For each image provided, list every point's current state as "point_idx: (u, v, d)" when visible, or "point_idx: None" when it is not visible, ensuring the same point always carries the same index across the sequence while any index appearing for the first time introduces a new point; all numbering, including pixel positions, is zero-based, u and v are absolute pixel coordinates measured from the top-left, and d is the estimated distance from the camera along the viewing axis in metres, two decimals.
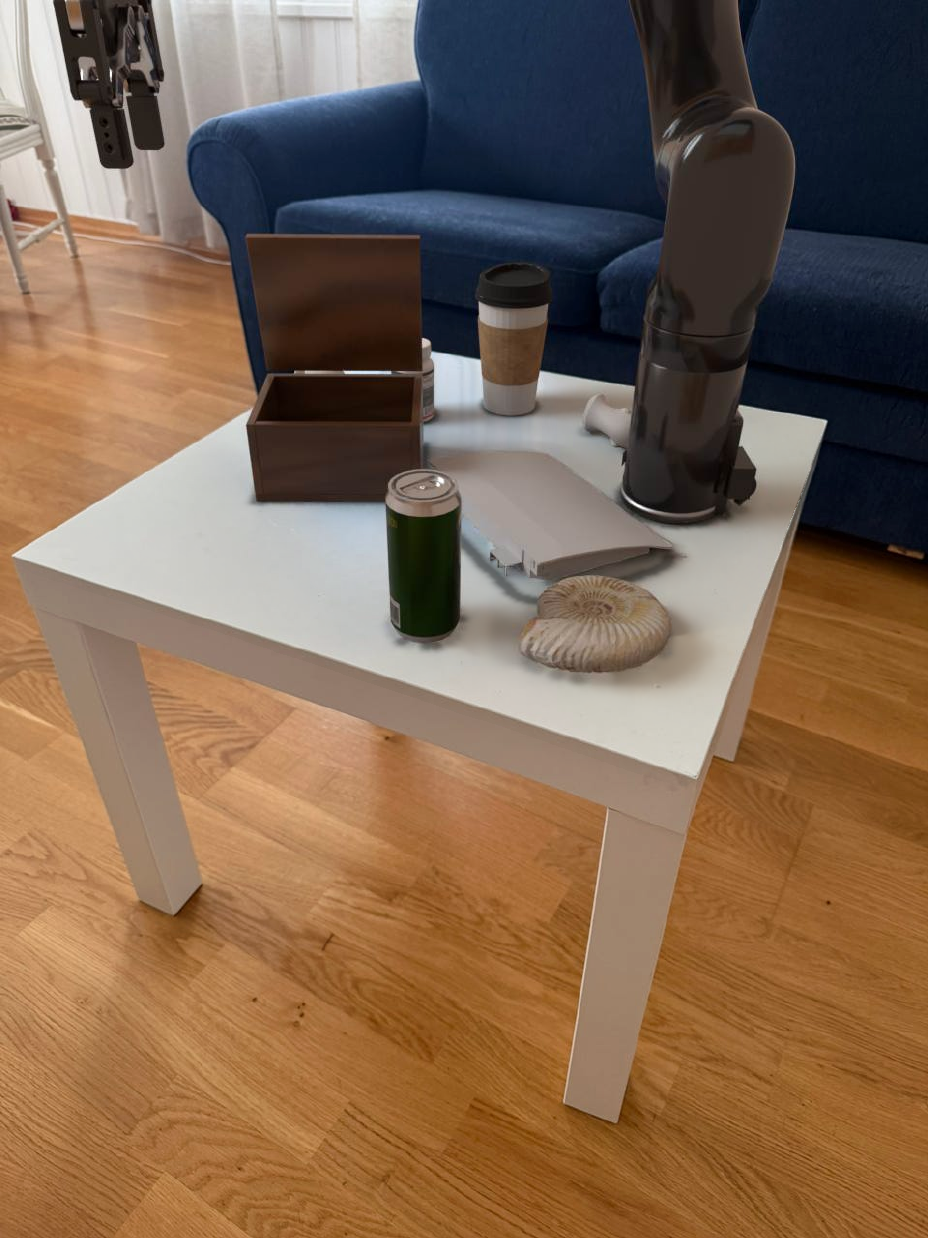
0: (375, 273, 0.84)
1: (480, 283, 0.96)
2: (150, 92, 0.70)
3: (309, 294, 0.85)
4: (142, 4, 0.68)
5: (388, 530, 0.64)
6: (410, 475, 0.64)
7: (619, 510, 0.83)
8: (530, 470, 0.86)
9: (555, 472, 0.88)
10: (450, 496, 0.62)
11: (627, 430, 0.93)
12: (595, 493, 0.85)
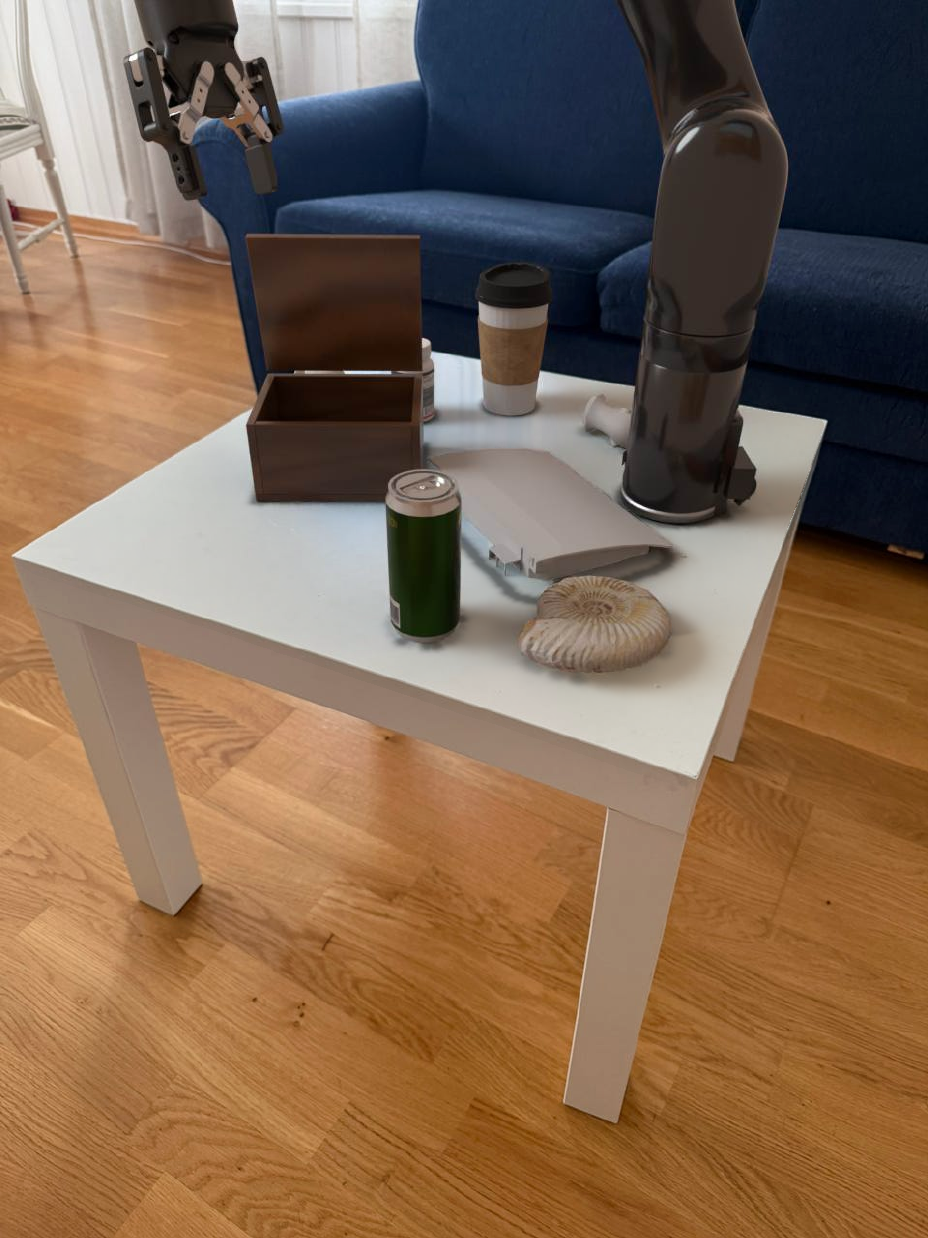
0: (375, 273, 0.84)
1: (480, 283, 0.96)
2: (263, 142, 0.79)
3: (309, 294, 0.85)
4: (256, 69, 0.77)
5: (388, 530, 0.64)
6: (410, 475, 0.64)
7: (619, 509, 0.83)
8: (531, 468, 0.86)
9: (555, 470, 0.88)
10: (450, 496, 0.62)
11: (627, 430, 0.93)
12: (595, 492, 0.85)
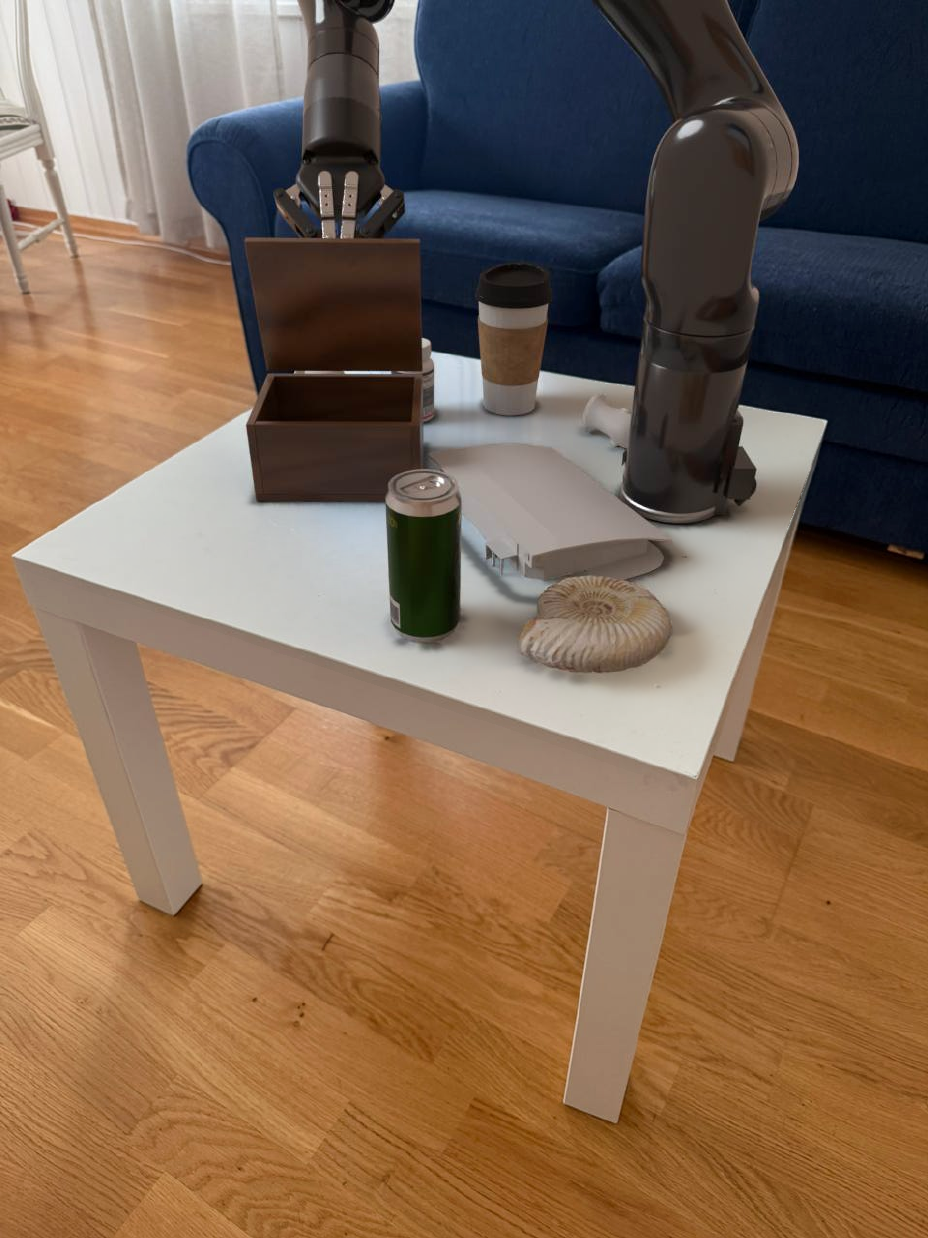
0: (375, 276, 0.83)
1: (480, 283, 0.96)
2: None
3: (309, 297, 0.85)
4: None
5: (388, 530, 0.64)
6: (410, 475, 0.64)
7: (619, 503, 0.82)
8: (530, 463, 0.86)
9: (556, 465, 0.87)
10: (450, 496, 0.62)
11: (627, 430, 0.93)
12: (595, 486, 0.85)
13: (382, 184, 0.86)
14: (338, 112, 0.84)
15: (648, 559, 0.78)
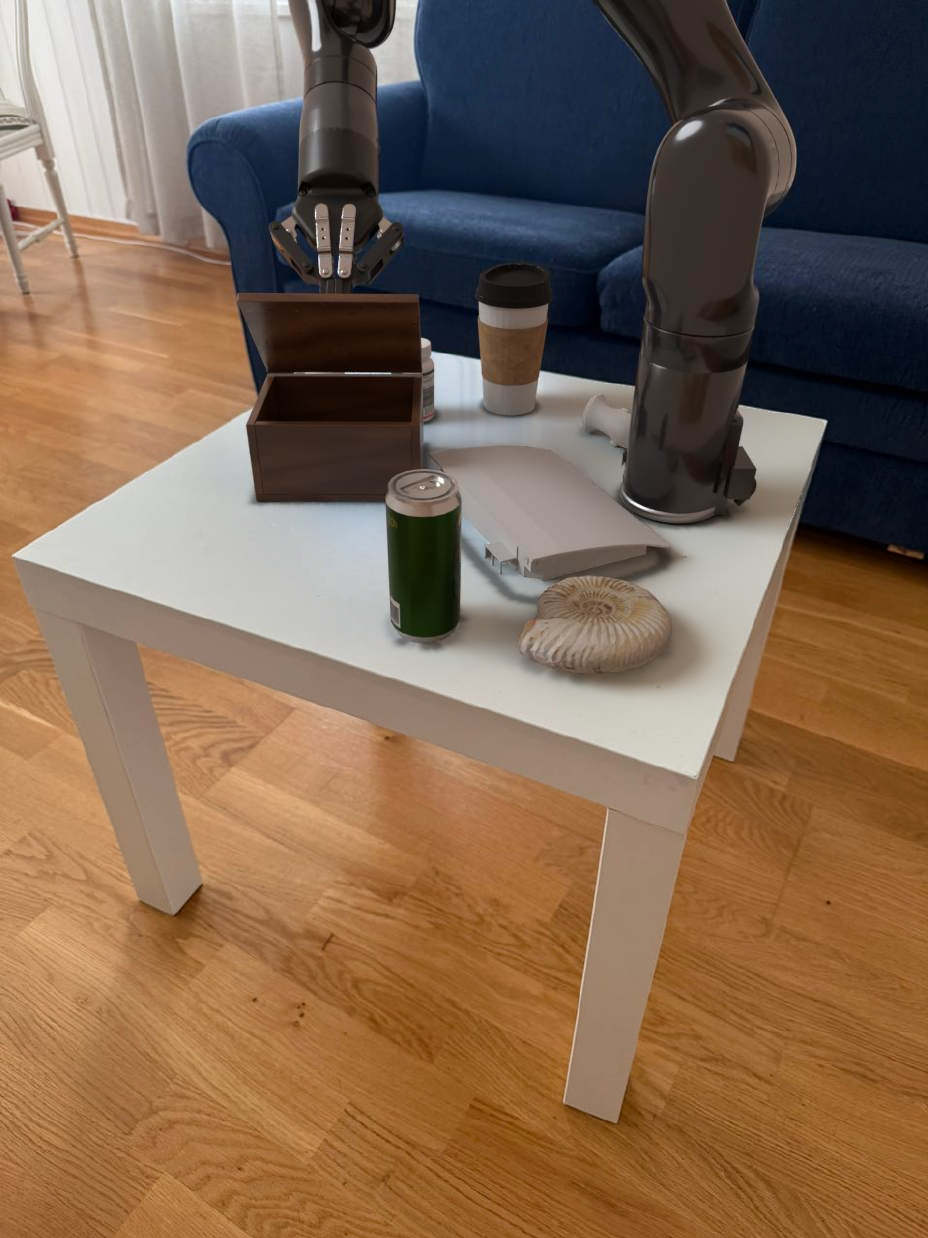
0: (373, 321, 0.81)
1: (480, 283, 0.96)
2: (342, 279, 0.83)
3: (306, 332, 0.83)
4: None
5: (388, 530, 0.64)
6: (410, 475, 0.64)
7: (618, 507, 0.83)
8: (531, 466, 0.86)
9: (556, 468, 0.88)
10: (450, 496, 0.62)
11: (627, 430, 0.93)
12: (595, 490, 0.85)
13: (380, 216, 0.84)
14: (335, 143, 0.82)
15: None
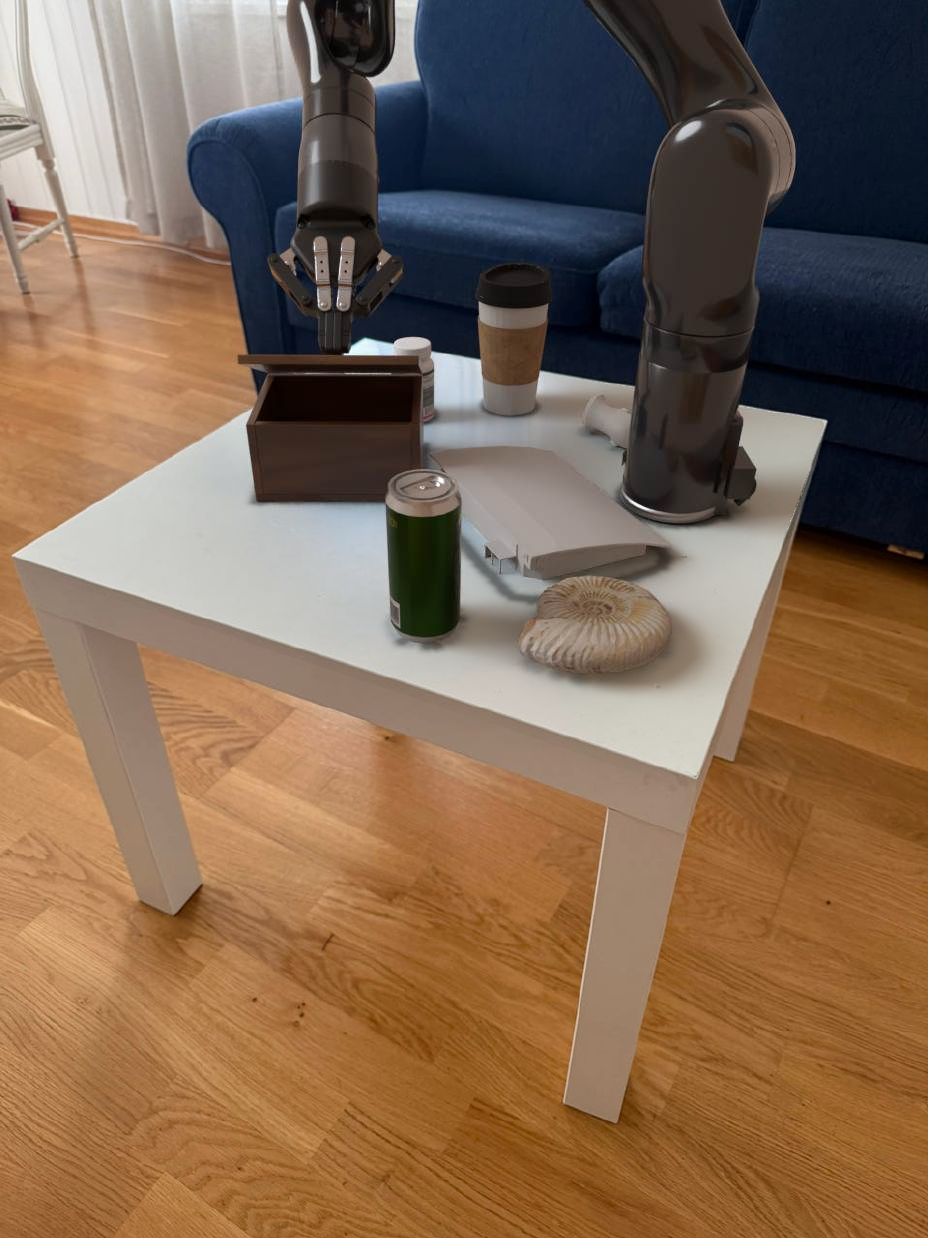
0: (374, 367, 0.81)
1: (480, 283, 0.96)
2: (341, 312, 0.83)
3: (306, 368, 0.83)
4: None
5: (388, 530, 0.64)
6: (410, 475, 0.64)
7: (618, 508, 0.83)
8: (531, 466, 0.86)
9: (557, 468, 0.88)
10: (450, 496, 0.62)
11: (627, 430, 0.93)
12: (595, 491, 0.85)
13: (379, 249, 0.84)
14: (334, 176, 0.81)
15: None
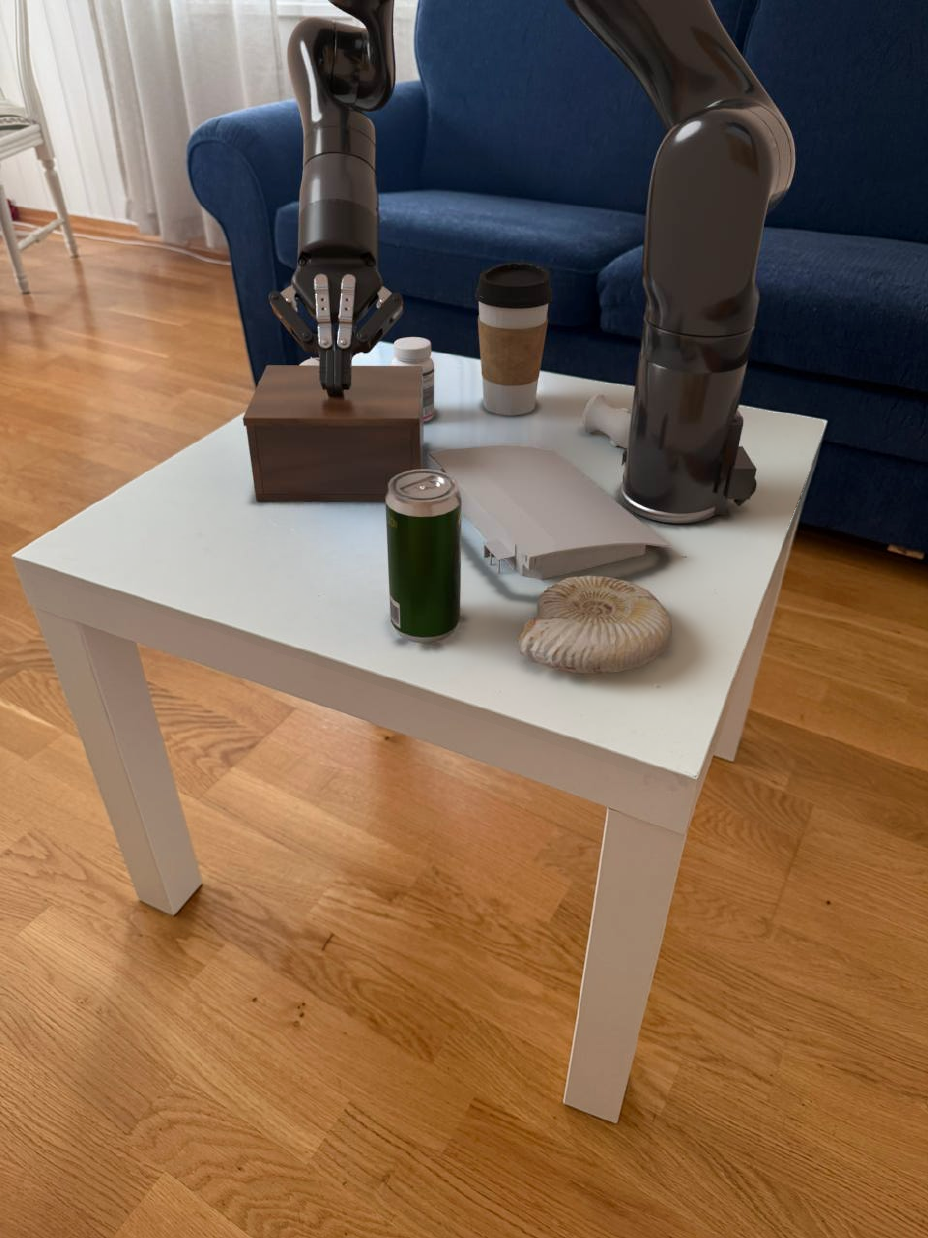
0: None
1: (480, 283, 0.96)
2: (341, 349, 0.83)
3: None
4: None
5: (388, 530, 0.64)
6: (410, 475, 0.64)
7: (618, 507, 0.83)
8: (531, 466, 0.86)
9: (557, 468, 0.88)
10: (450, 496, 0.62)
11: (627, 430, 0.93)
12: (595, 490, 0.85)
13: (380, 286, 0.84)
14: (334, 215, 0.82)
15: None
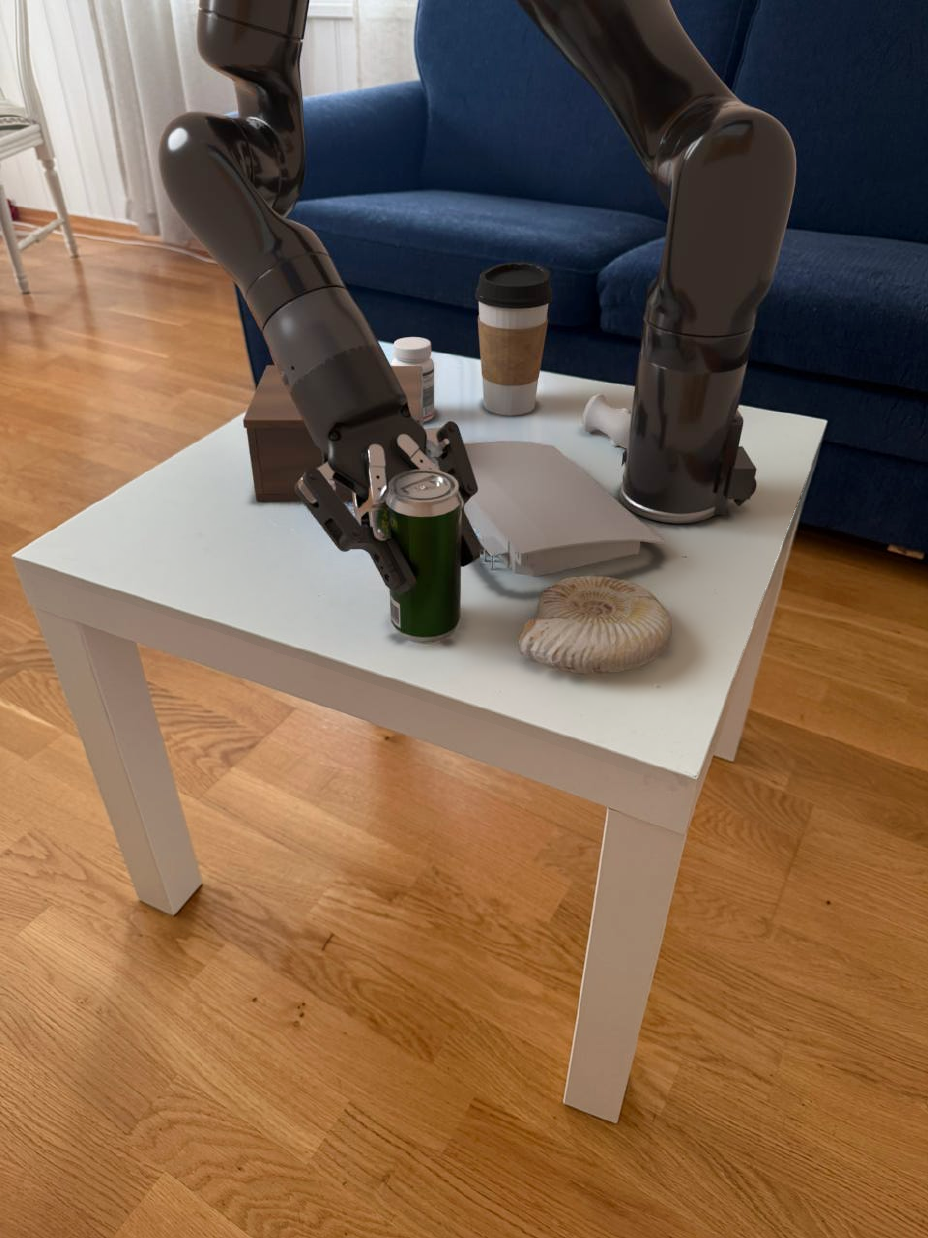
0: None
1: (480, 283, 0.96)
2: None
3: None
4: (444, 434, 0.68)
5: None
6: (410, 475, 0.64)
7: (615, 503, 0.83)
8: (530, 461, 0.86)
9: (556, 464, 0.88)
10: (450, 496, 0.62)
11: (627, 430, 0.93)
12: (593, 486, 0.85)
13: (427, 437, 0.68)
14: (368, 368, 0.63)
15: None
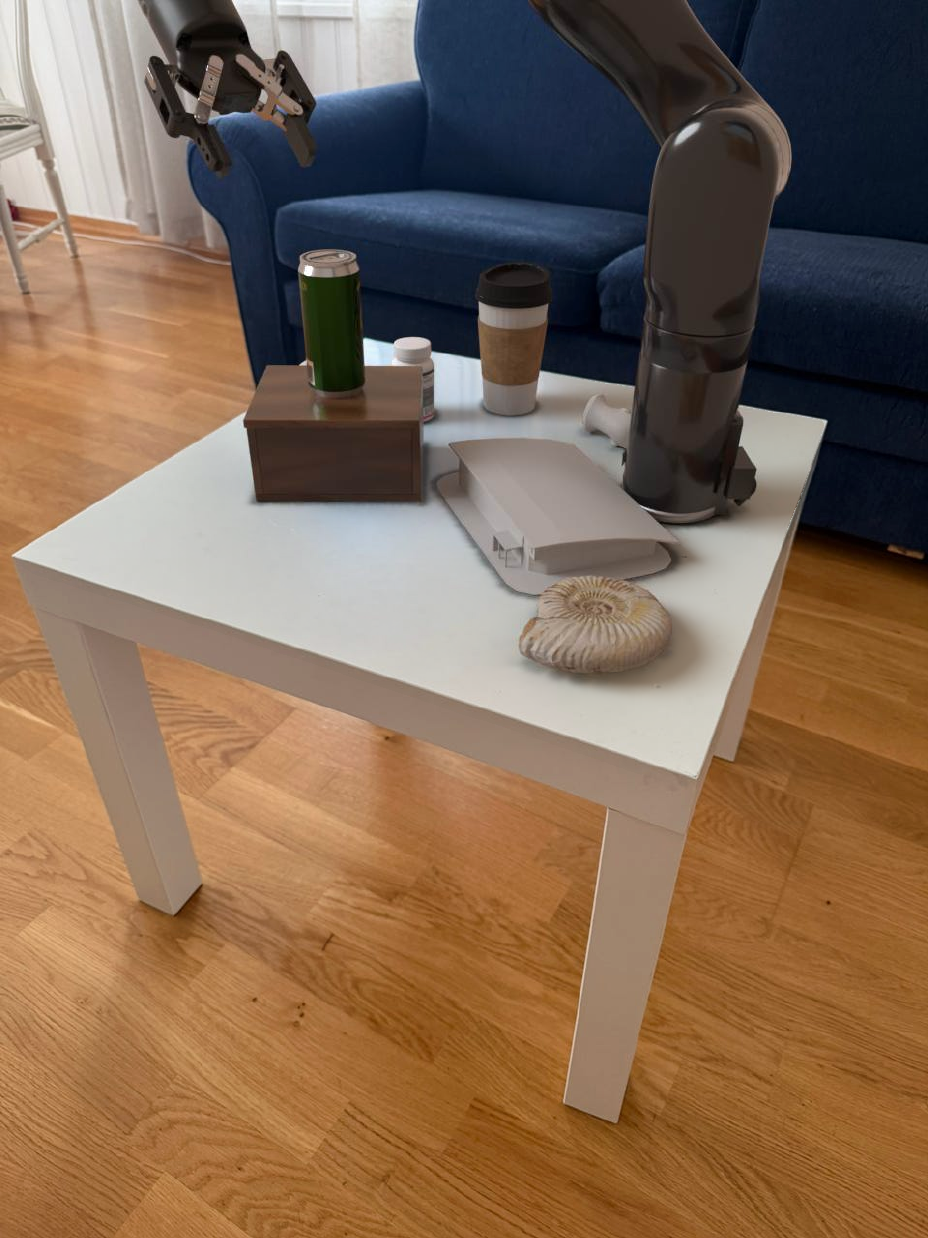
0: None
1: (480, 283, 0.96)
2: None
3: None
4: (278, 61, 0.83)
5: (301, 295, 0.80)
6: (319, 252, 0.80)
7: (632, 503, 0.82)
8: (549, 459, 0.86)
9: (575, 462, 0.88)
10: (347, 261, 0.78)
11: (627, 430, 0.93)
12: (611, 485, 0.85)
13: (265, 68, 0.82)
14: None
15: (655, 560, 0.78)
